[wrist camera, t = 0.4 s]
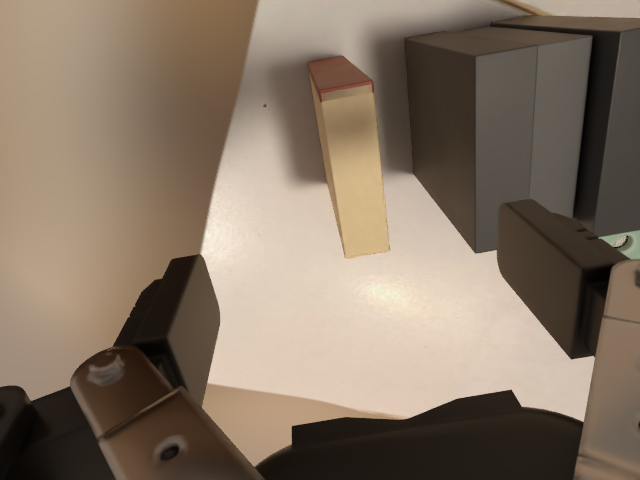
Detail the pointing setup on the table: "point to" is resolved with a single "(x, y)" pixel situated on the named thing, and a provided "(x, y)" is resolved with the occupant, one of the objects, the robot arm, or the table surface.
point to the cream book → (351, 154)
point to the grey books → (529, 121)
